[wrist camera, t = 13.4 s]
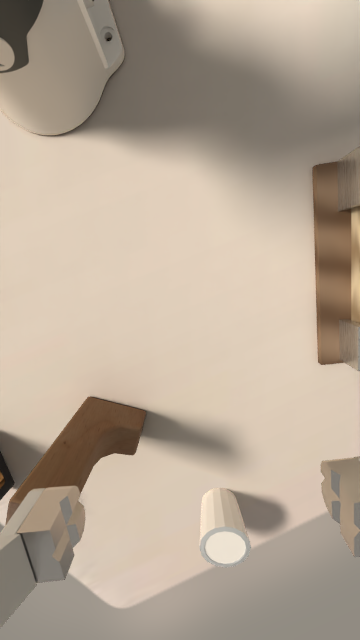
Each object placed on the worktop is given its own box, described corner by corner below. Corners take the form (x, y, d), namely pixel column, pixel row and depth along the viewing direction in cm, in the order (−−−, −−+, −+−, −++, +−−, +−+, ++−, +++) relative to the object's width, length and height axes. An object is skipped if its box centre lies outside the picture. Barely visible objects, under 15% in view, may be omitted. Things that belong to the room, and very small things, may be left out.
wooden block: (147, 410, 40) (113, 526, 22) (140, 436, 41) (103, 567, 23) (88, 395, 39) (6, 500, 22) (82, 421, 40) (0, 543, 23)
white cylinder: (207, 478, 42) (210, 520, 35) (247, 492, 42) (259, 537, 35) (191, 512, 43) (192, 559, 36) (231, 525, 43) (238, 574, 37)
